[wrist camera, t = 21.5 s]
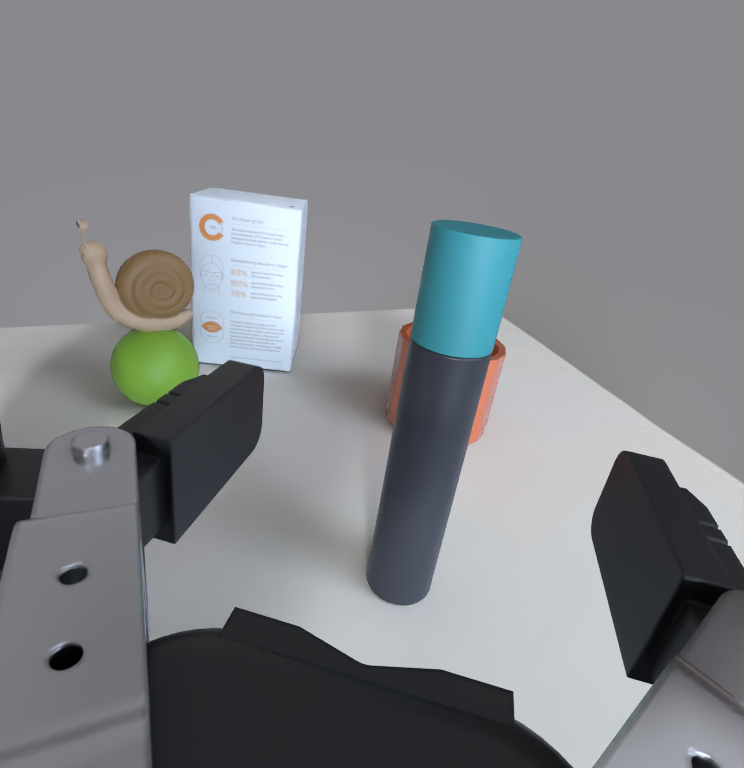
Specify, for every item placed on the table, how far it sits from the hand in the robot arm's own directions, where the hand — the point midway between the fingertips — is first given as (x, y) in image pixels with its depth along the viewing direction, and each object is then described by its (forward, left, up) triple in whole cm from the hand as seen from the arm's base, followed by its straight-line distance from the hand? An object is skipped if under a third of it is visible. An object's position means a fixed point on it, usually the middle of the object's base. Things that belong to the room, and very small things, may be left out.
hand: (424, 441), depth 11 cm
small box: (-17, +28, -12) cm, 35 cm away
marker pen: (0, +8, -12) cm, 14 cm away
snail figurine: (-19, +17, -12) cm, 28 cm away
